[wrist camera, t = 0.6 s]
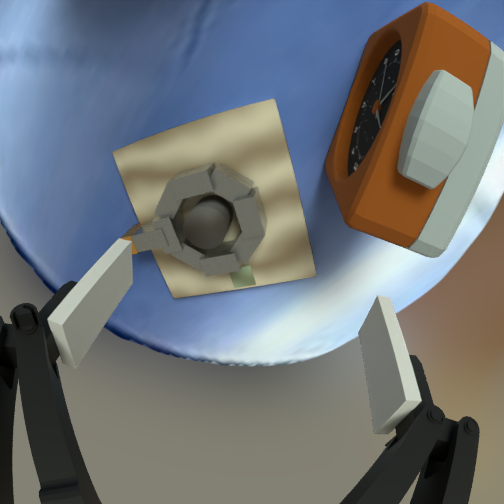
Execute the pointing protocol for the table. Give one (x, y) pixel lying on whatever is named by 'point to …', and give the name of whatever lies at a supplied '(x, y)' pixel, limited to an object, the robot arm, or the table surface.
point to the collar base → (216, 207)
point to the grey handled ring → (172, 221)
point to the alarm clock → (417, 129)
